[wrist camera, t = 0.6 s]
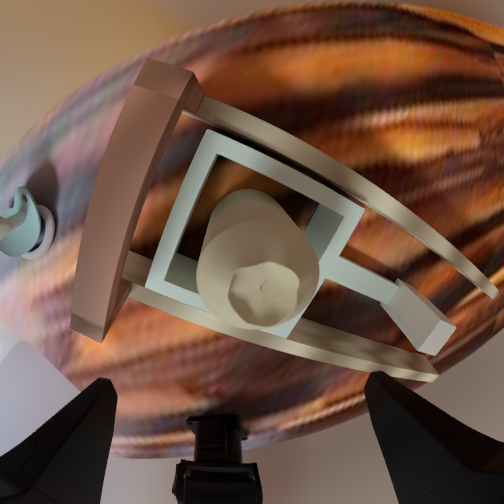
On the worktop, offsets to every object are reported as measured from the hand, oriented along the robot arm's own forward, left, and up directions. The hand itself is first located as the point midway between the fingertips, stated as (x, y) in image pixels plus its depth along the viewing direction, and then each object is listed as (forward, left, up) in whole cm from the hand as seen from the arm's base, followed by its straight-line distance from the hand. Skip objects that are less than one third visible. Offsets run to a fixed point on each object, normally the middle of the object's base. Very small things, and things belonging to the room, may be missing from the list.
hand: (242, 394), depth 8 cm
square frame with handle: (-2, -6, -13) cm, 15 cm away
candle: (+1, -1, -14) cm, 14 cm away
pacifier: (+6, +18, -14) cm, 23 cm away
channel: (-4, -9, -13) cm, 17 cm away
